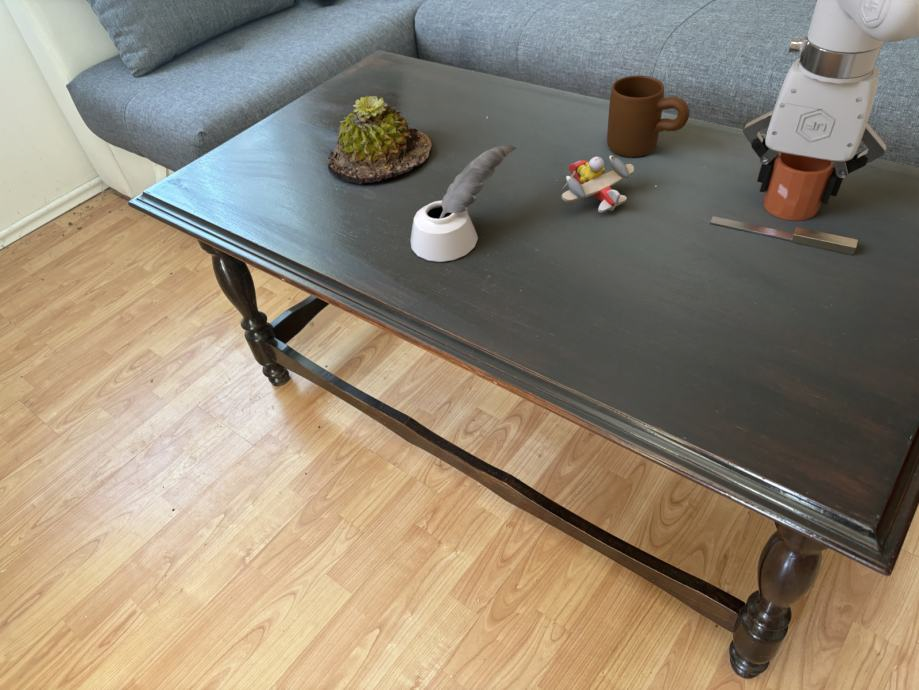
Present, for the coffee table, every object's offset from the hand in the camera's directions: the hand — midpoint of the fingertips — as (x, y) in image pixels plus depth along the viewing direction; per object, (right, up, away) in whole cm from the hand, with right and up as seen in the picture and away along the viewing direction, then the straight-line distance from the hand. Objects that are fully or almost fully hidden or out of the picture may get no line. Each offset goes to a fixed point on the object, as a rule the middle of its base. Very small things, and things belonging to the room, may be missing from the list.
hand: (794, 191), depth 85 cm
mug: (-16, +10, +14) cm, 23 cm away
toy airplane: (-25, 0, +7) cm, 25 cm away
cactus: (-56, +10, +20) cm, 61 cm away
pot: (0, -1, +2) cm, 2 cm away
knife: (-3, -6, -2) cm, 7 cm away
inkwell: (-43, -4, +5) cm, 43 cm away
